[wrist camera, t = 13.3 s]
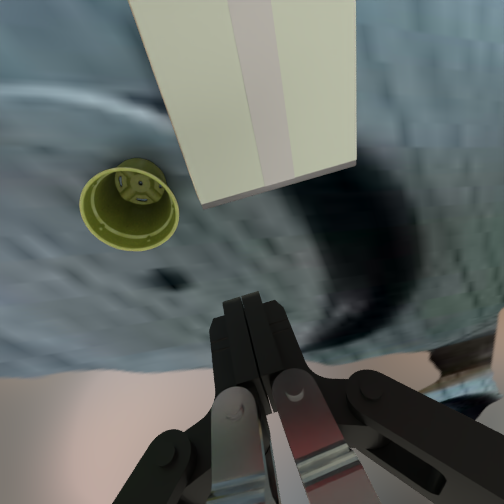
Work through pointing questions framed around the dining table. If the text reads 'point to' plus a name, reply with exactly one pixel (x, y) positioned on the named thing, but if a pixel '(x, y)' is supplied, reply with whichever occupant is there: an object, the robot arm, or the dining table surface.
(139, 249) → the plant pot
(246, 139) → the box lid
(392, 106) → the dining table surface
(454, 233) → the dining table surface
